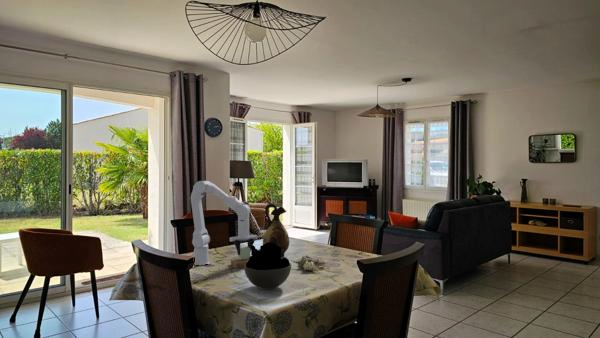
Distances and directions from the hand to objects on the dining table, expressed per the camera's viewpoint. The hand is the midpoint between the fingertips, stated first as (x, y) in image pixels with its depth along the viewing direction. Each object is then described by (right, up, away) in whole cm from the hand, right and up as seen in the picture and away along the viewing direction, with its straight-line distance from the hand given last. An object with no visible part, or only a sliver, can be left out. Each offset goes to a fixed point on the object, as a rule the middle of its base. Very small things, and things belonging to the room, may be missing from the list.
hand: (243, 254), depth 210 cm
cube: (0, -2, 0) cm, 2 cm away
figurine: (+35, -6, -9) cm, 36 cm away
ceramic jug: (+15, -6, +23) cm, 28 cm away
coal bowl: (+16, -6, -39) cm, 43 cm away
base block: (0, -6, 0) cm, 6 cm away
